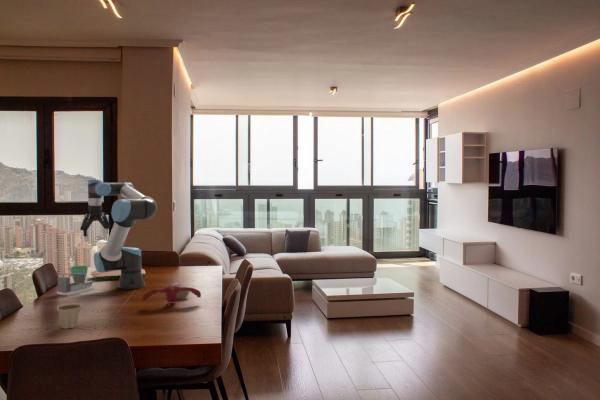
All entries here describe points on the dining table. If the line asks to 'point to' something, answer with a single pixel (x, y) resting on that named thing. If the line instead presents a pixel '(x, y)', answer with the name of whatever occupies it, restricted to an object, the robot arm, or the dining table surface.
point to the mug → (79, 270)
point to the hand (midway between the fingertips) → (95, 240)
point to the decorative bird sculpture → (171, 293)
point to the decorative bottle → (181, 293)
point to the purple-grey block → (78, 279)
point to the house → (109, 273)
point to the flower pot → (69, 315)
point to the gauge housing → (67, 290)
